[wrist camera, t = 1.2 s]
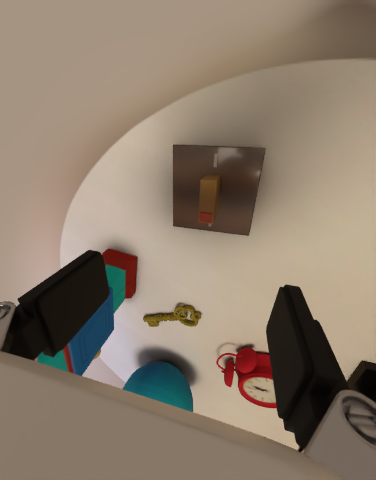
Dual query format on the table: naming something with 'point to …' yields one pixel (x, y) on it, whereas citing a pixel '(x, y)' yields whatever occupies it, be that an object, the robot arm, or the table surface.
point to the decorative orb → (161, 384)
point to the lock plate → (231, 188)
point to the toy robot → (98, 316)
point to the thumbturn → (209, 198)
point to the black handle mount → (364, 380)
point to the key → (175, 317)
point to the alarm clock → (252, 376)
